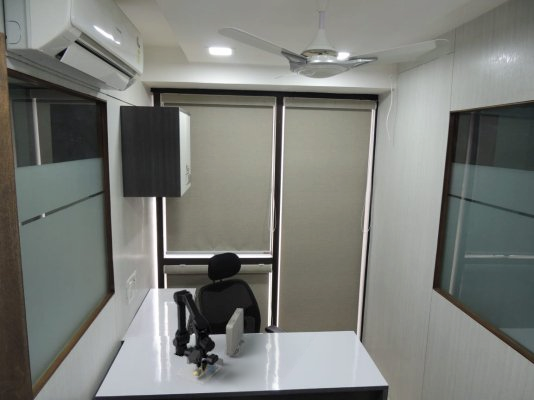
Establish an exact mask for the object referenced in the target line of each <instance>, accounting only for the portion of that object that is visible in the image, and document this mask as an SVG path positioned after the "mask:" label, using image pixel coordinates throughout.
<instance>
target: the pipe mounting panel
mask: <svg viewBox="0 0 534 400" xmlns="http://www.w3.org/2000/svg"><path fill="white" fill-rule="evenodd" d="M202 361H203V358H202V360H201V362H202ZM201 366H202V363H201ZM223 366H224V358H222V357H219V360H218V361H217V362H216V363H215V364H213V365H208V367H207V368H206V369H205V371H204V372H203V371H202V372H201V373H202V374H201V375H200V376H195V375H194V371H195V370H196V369H197V368H198V367H197V365H196V364H193V363H190V362H189V360H188V357H186V364H185V365H184V366H183V365H182V367H181V368H179V369H178V370H177V371H176V372H175V373H174V375H175V376H178V377H181V378H184V379H186V380H188V381H191V382H194V383H196V384H199V385H202V386H203V385H204V384H205V383H207V381H208V380H209V379H210V378H212V377H213V375H214V374H216V373H217V372H218V371H219V370H220V369H221V368H222V367H223Z"/></svg>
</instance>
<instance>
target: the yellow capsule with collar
mask: <svg viewBox="0 0 534 400" xmlns="http://www.w3.org/2000/svg"><path fill="white" fill-rule="evenodd" d="M208 365H209V364H207V366H206V368H207V367H208ZM206 368H205V369H206ZM202 371H203V369H202V366H201V367H200V368H199V369H198V368H197V369H196V370H195V371H194V375H195V376H200V375H201V374H202V373H201V372H202Z"/></svg>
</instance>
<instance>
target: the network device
mask: <svg viewBox="0 0 534 400" xmlns="http://www.w3.org/2000/svg"><path fill="white" fill-rule="evenodd" d="M243 336H244V308H240V307H239V308H238V307H237V308H236V309H235V311H234V313H233V314H232V316H231V317H230V319H229V320H228V323H227V324H226V326H225V339H226V340H225V342H226V344H225V346H226V347H225V351H224V355H225V356H228V357H237V356H239V355H240V353H241V351H242V348H243V347H242V346H244V345H243V344H245V341H246V340H245V339H244V338H243ZM241 339H243V341H244V340H245V341H244V342H243V341H242V343H241V344H240V342H241V341H240V340H241ZM237 348H238V349H237ZM237 350H238V352H237V353H235V352H236V351H237Z"/></svg>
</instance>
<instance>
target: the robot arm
mask: <svg viewBox="0 0 534 400" xmlns="http://www.w3.org/2000/svg"><path fill="white" fill-rule="evenodd" d="M172 298H173V302H174V303H175V304H176V308H177V315H176V316H177V330H176V331H175V333H174V338H173V339H172V345H173V346H174V347H175V353H173V355H175V356H178V357H180V358H183V357H186V358H187V357H188V360H189V362H190V363H193V364H196V365H197V367H198V369H199V368H200V367H201V363H202V369H203V372H204V371H205V368H206V366H207V364H209V365H213V364H215V363H216V362H217V361H218V360H219V358H220V357H219V355H218V354H215V353H211V354H209V352H212V351H214V349H215V347H216V343H215V341H214V340H213V339H212V337H210V335H211V334H212V329H211V328H212V327H211V326H210V324H209V322H208V320H207V319H206V317H205V316H204V315H202V314H201V313H200V311H199V310H200V309H199V308H198V306H197V304H196V302H195V299H194V295H193V294H192V293H191V291H190V290H187V289H181V290H178V291H175V292H174V293H173V295H172ZM187 310H188V313H189V315H190V317H191V319H192V322H191V327H192V329H193V330H192V331H193V333H194V336H195V340H194V342H195V345H194V346H190V347H188V344H190V341H191V333H190V332H189V330H188V329H187ZM202 358H203V361H202V362H201V360H202Z"/></svg>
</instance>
